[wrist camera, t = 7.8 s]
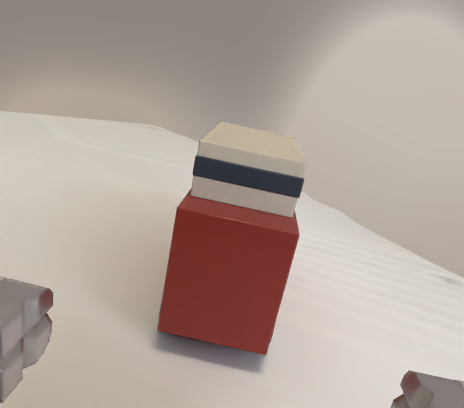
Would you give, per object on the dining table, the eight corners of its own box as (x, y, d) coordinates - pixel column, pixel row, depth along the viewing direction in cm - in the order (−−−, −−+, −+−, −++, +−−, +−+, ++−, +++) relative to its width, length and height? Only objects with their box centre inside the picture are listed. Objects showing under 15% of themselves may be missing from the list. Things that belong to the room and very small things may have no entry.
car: (265, 374, 17) (321, 174, 14) (149, 348, 17) (181, 144, 14) (267, 252, 30) (297, 131, 27) (199, 237, 30) (221, 114, 27)
